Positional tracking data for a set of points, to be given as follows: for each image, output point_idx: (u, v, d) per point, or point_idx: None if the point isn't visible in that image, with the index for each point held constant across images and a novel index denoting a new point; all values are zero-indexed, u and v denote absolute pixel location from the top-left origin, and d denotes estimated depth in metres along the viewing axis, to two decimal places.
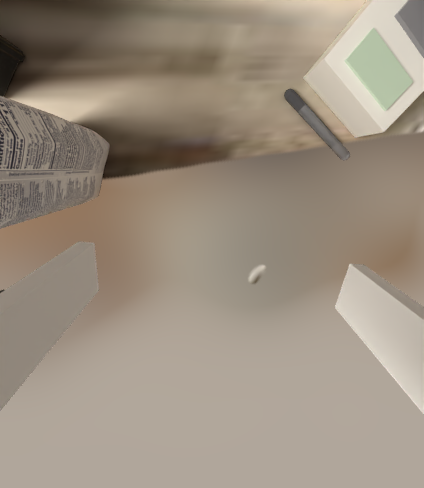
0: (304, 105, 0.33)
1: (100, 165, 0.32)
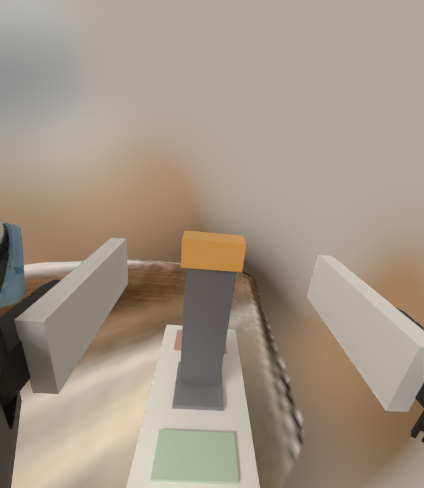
0: None
1: None
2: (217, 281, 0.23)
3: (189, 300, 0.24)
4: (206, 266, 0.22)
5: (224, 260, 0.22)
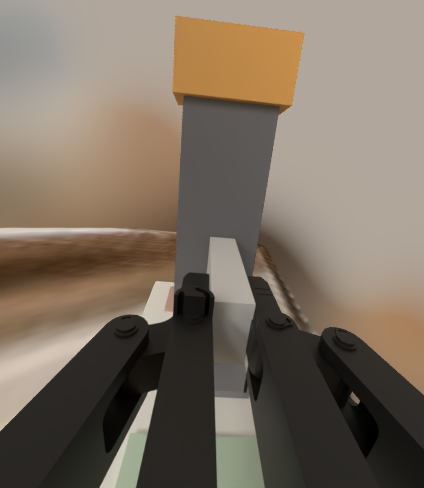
0: None
1: None
2: (241, 133, 0.12)
3: (189, 177, 0.13)
4: (223, 90, 0.11)
5: (260, 76, 0.11)
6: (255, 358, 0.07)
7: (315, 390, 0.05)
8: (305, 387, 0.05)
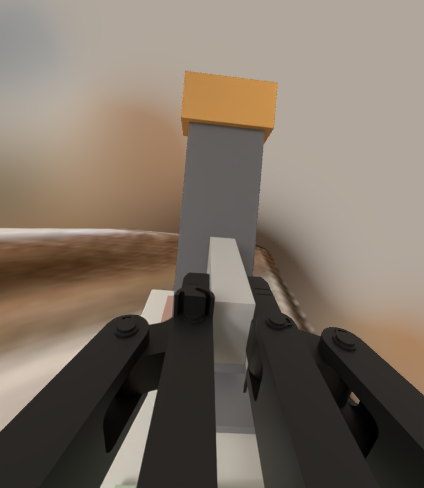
0: None
1: None
2: (235, 149, 0.15)
3: (192, 182, 0.15)
4: (220, 117, 0.15)
5: (247, 108, 0.15)
6: (255, 358, 0.07)
7: (315, 390, 0.05)
8: (305, 387, 0.05)
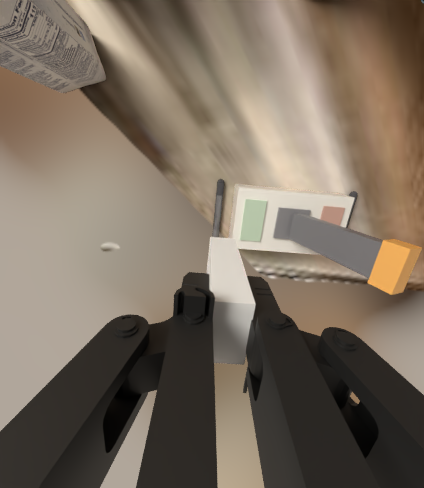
0: (220, 195, 0.47)
1: (82, 83, 0.38)
2: (364, 262, 0.31)
3: (353, 237, 0.32)
4: (378, 259, 0.29)
5: (380, 274, 0.29)
6: (255, 358, 0.07)
7: (315, 390, 0.05)
8: (305, 387, 0.05)
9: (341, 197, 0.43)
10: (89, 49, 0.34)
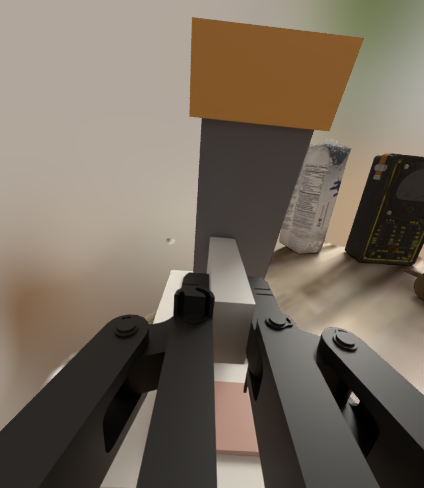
0: None
1: (291, 235, 0.59)
2: None
3: None
4: None
5: None
6: (255, 358, 0.07)
7: (315, 390, 0.05)
8: (305, 387, 0.05)
9: None
10: (313, 228, 0.55)
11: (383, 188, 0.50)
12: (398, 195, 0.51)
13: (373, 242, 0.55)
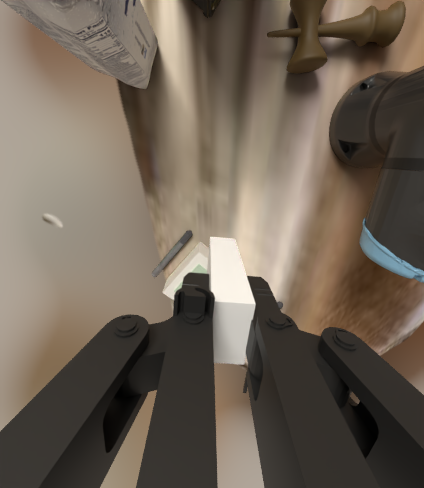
0: (182, 244, 0.49)
1: (120, 80, 0.36)
2: None
3: None
4: None
5: None
6: (255, 358, 0.07)
7: (315, 390, 0.05)
8: (305, 387, 0.05)
9: None
10: (144, 66, 0.33)
11: None
12: None
13: None
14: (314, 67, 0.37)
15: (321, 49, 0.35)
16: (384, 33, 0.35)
